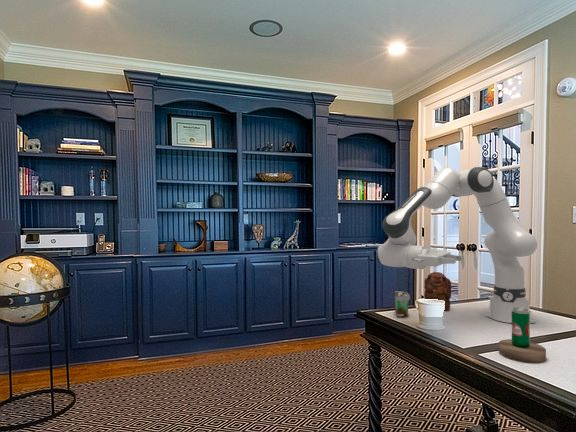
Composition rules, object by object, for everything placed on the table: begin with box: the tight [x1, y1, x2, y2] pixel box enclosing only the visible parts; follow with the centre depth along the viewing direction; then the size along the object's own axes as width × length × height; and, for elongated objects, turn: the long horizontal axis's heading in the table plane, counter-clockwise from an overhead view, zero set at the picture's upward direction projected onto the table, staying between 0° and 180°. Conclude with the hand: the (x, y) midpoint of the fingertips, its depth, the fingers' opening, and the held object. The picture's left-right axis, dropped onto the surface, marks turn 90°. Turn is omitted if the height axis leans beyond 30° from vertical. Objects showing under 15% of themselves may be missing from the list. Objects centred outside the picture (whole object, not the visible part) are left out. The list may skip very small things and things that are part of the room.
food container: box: [394, 290, 411, 319], centre depth 170 cm, size 12×6×10 cm, turn 168°
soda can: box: [511, 307, 531, 348], centre depth 122 cm, size 5×5×12 cm
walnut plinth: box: [498, 338, 547, 364], centre depth 122 cm, size 13×13×3 cm
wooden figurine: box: [423, 271, 452, 312], centre depth 180 cm, size 12×6×18 cm, turn 77°
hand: (458, 259), depth 133 cm, fingers open, 8 cm apart
